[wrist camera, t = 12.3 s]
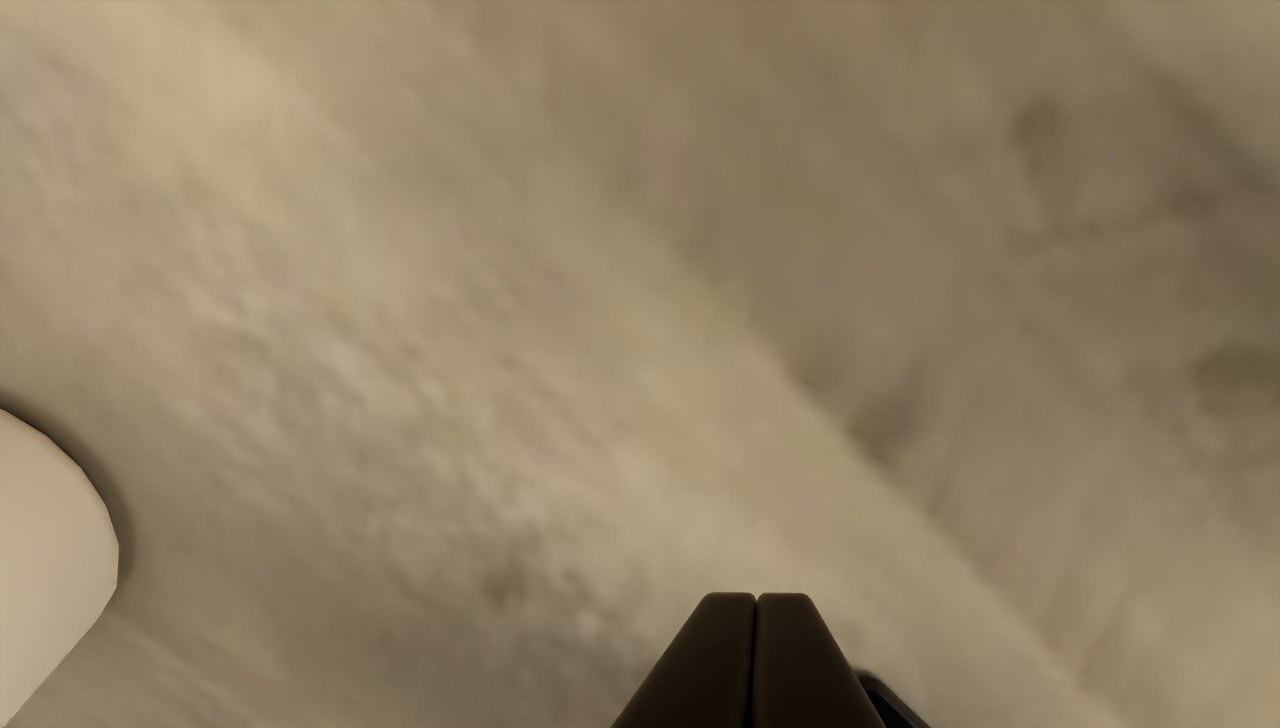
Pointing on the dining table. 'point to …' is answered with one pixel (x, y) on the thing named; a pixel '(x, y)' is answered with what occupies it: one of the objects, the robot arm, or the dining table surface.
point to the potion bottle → (46, 559)
